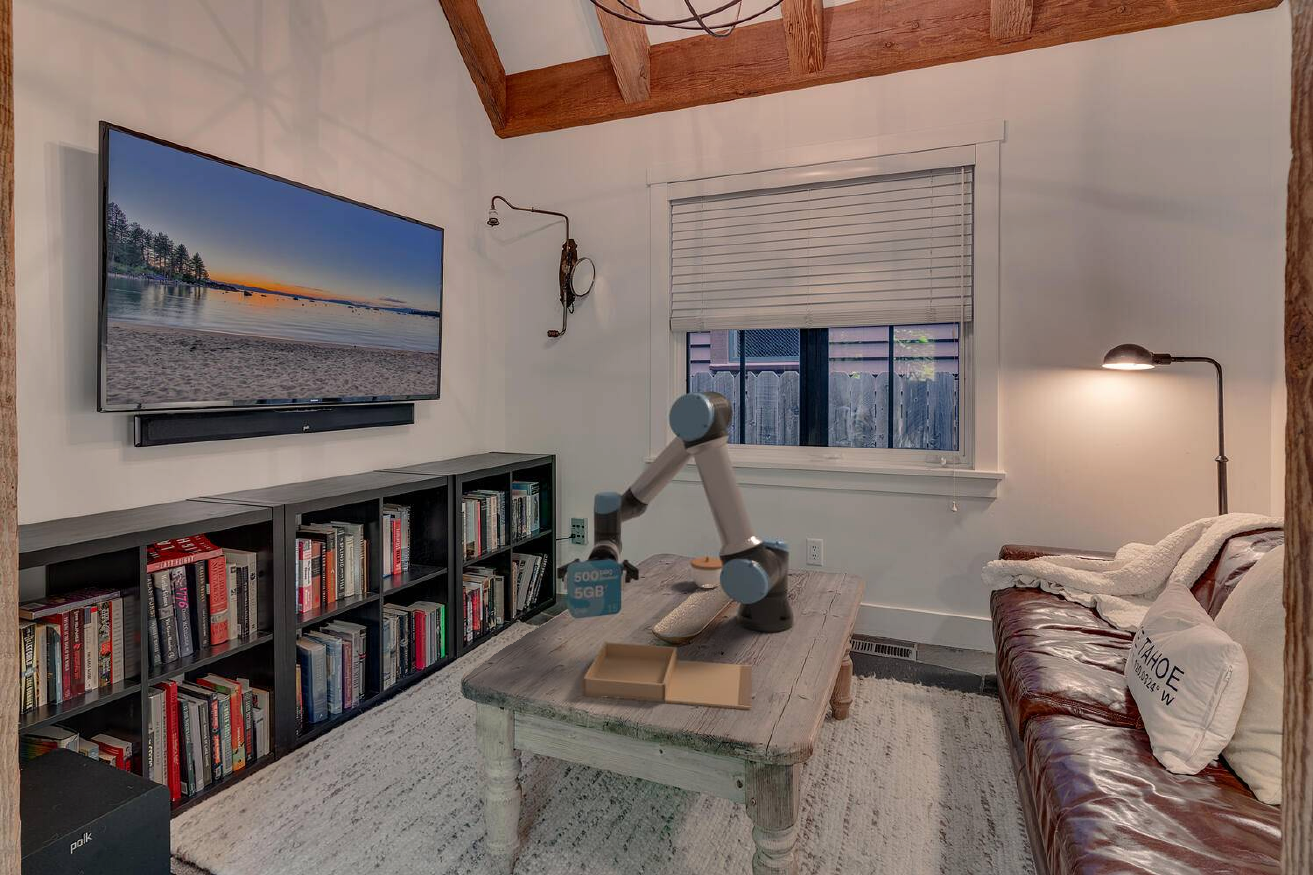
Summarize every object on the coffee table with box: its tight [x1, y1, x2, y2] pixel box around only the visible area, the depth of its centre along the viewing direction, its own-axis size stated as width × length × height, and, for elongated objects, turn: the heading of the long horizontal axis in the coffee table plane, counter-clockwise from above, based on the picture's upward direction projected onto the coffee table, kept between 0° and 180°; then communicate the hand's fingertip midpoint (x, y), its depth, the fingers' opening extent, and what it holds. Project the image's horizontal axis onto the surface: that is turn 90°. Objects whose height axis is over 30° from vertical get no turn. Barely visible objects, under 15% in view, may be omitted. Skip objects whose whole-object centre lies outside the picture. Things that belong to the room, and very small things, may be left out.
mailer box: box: [582, 641, 752, 710], centre depth 145 cm, size 34×19×4 cm, turn 81°
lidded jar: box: [690, 556, 723, 588], centre depth 210 cm, size 11×11×9 cm
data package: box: [566, 559, 622, 619], centre depth 155 cm, size 12×4×12 cm, turn 108°
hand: (594, 583), depth 154 cm, fingers closed on data package, 13 cm apart
